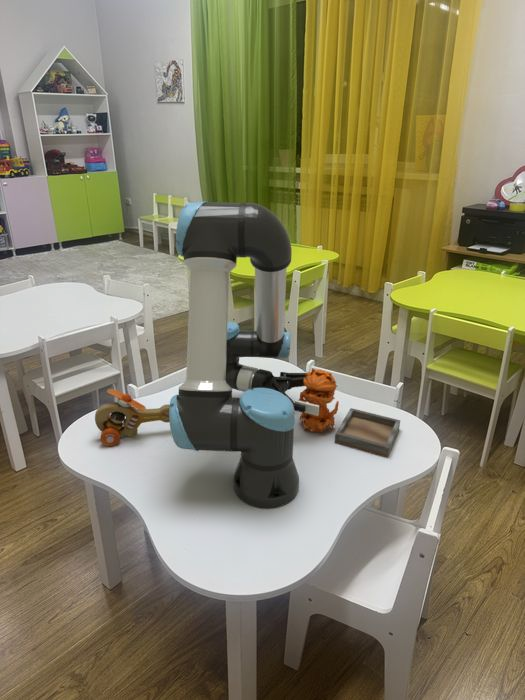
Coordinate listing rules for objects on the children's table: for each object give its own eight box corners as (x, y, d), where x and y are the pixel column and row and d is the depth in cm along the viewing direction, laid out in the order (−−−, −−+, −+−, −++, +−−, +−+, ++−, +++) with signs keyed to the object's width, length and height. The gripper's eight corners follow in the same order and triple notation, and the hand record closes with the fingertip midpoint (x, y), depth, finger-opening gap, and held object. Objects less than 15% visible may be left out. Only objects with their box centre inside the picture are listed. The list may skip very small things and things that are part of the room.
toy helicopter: (99, 430, 129) (92, 386, 124) (177, 422, 134) (173, 379, 128) (97, 448, 122) (89, 402, 116) (179, 439, 127) (175, 394, 121)
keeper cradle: (387, 457, 120) (389, 448, 119) (334, 442, 126) (335, 433, 125) (398, 429, 132) (400, 420, 131) (349, 416, 137) (350, 408, 136)
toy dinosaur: (289, 430, 131) (292, 372, 123) (305, 412, 139) (308, 356, 132) (327, 442, 126) (333, 382, 118) (341, 422, 135) (347, 365, 127)
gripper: (273, 374, 148) (339, 390, 140) (235, 413, 128) (309, 434, 119) (274, 353, 145) (341, 367, 137) (234, 389, 124) (311, 408, 116)
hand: (327, 398), depth 128 cm, fingers open, 13 cm apart
